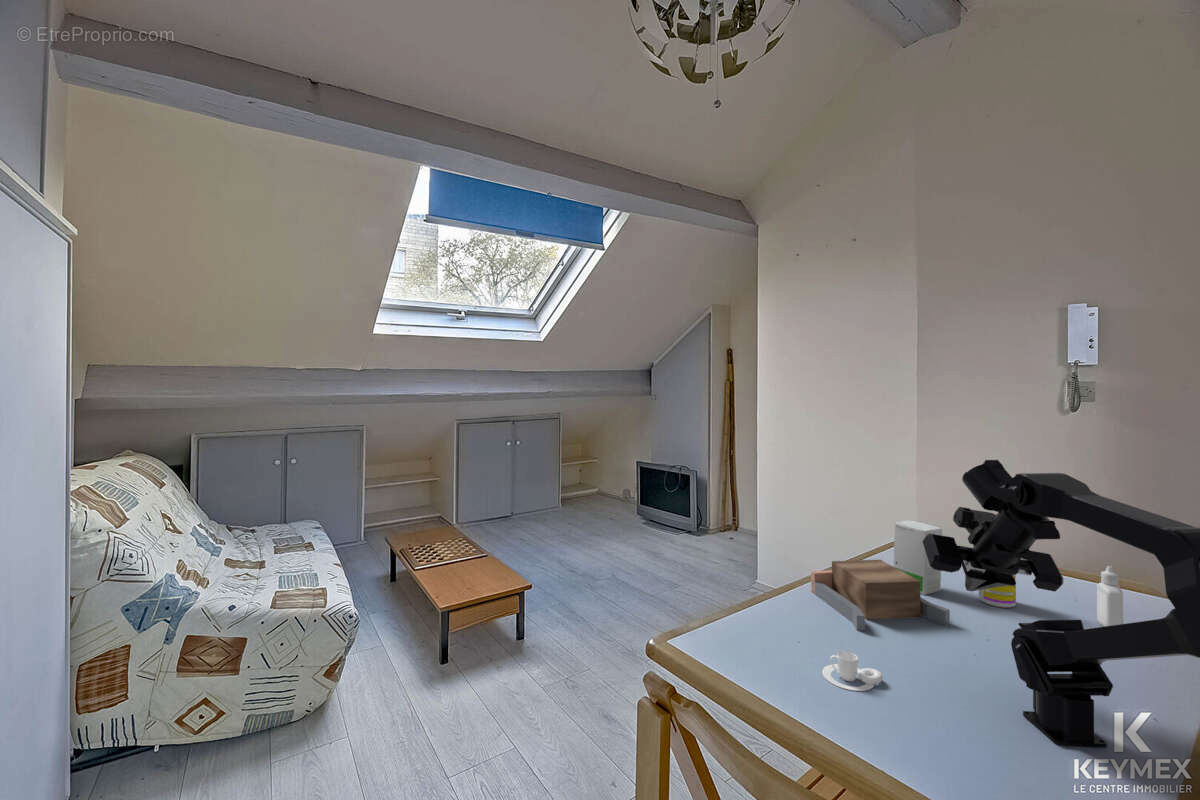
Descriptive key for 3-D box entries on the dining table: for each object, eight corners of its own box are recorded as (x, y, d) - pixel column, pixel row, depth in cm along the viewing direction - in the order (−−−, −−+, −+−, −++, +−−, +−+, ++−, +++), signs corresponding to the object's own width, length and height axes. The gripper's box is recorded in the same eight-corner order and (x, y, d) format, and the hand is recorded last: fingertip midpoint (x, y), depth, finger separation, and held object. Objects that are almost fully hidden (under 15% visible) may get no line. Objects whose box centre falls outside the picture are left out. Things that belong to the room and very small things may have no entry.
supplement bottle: (1022, 609, 109) (1022, 551, 109) (988, 607, 110) (988, 550, 110) (1004, 597, 115) (1004, 542, 115) (972, 595, 117) (972, 541, 117)
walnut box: (920, 618, 106) (920, 581, 106) (865, 620, 106) (865, 583, 105) (880, 592, 120) (880, 559, 120) (832, 594, 120) (831, 561, 119)
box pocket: (951, 625, 102) (951, 600, 102) (858, 631, 100) (858, 606, 100) (885, 587, 123) (885, 567, 122) (806, 592, 120) (806, 571, 120)
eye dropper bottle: (1090, 624, 102) (1090, 566, 102) (1099, 617, 105) (1099, 561, 104) (1120, 633, 98) (1120, 572, 98) (1129, 625, 101) (1128, 567, 101)
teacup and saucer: (886, 681, 84) (886, 657, 84) (870, 702, 78) (870, 676, 78) (833, 661, 90) (832, 639, 90) (814, 680, 84) (814, 656, 84)
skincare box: (892, 584, 125) (891, 522, 124) (909, 579, 127) (908, 519, 127) (926, 596, 117) (925, 530, 117) (943, 591, 120) (943, 526, 120)
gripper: (1055, 505, 83) (1010, 560, 93) (932, 486, 87) (901, 541, 96) (1089, 562, 75) (1035, 616, 84) (951, 538, 78) (914, 592, 88)
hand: (968, 588), depth 88 cm, fingers closed
